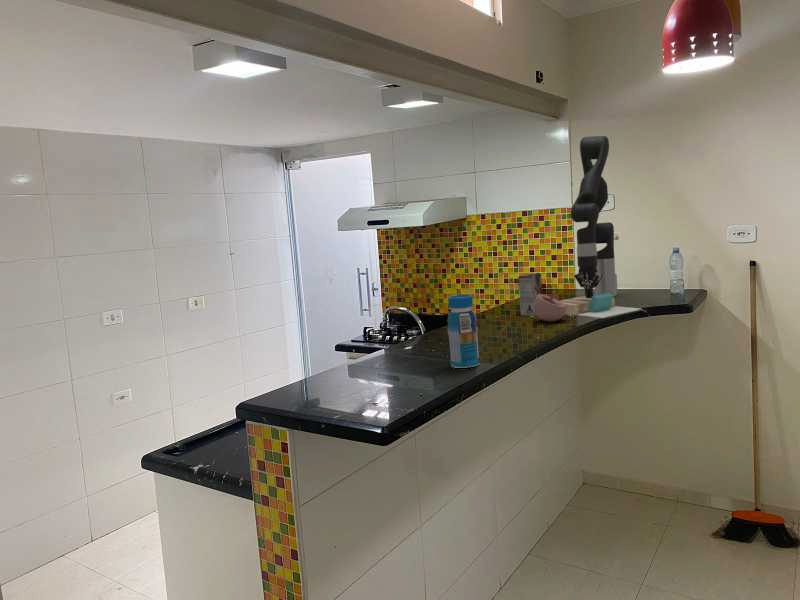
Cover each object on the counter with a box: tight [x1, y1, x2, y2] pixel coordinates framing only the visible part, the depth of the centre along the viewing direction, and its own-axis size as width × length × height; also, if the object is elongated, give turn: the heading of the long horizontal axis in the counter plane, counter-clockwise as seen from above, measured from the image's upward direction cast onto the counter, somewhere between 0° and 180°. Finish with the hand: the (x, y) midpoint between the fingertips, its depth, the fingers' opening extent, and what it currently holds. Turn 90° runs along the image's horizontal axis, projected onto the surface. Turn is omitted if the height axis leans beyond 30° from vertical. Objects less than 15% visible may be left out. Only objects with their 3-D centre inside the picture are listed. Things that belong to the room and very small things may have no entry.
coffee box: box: [517, 272, 543, 317], centre depth 248 cm, size 9×6×16 cm
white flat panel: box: [577, 305, 642, 319], centre depth 236 cm, size 22×12×1 cm, turn 120°
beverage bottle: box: [446, 294, 481, 369], centre depth 171 cm, size 8×8×20 cm
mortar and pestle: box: [534, 290, 567, 323], centre depth 228 cm, size 12×12×12 cm
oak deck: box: [559, 295, 616, 316], centre depth 248 cm, size 22×14×4 cm, turn 120°
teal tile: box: [589, 293, 614, 312], centre depth 239 cm, size 9×6×2 cm
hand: (589, 298), depth 244 cm, fingers closed
